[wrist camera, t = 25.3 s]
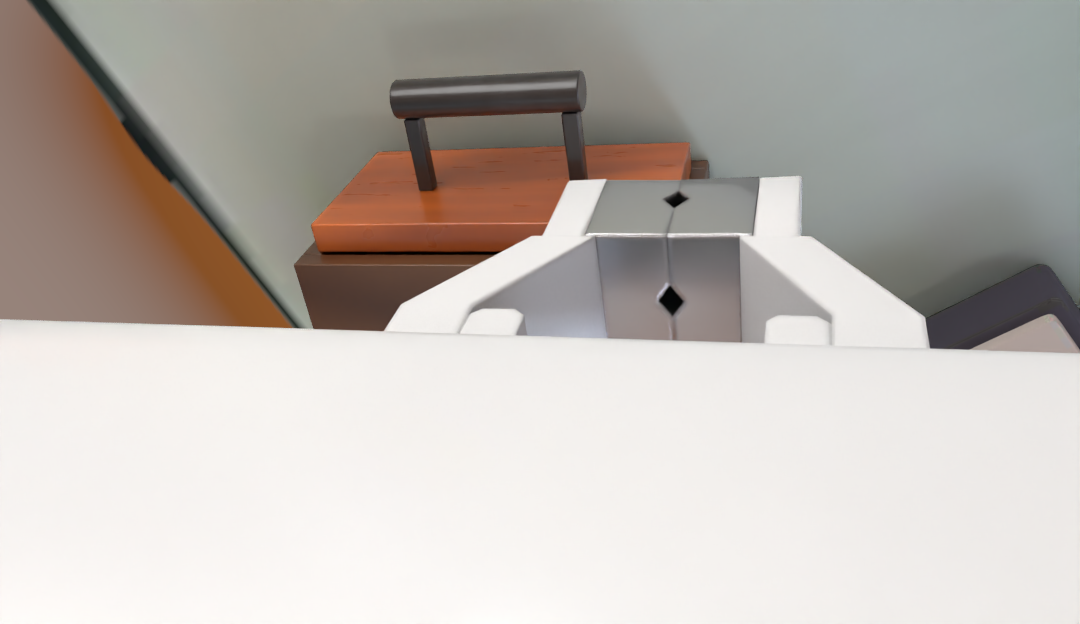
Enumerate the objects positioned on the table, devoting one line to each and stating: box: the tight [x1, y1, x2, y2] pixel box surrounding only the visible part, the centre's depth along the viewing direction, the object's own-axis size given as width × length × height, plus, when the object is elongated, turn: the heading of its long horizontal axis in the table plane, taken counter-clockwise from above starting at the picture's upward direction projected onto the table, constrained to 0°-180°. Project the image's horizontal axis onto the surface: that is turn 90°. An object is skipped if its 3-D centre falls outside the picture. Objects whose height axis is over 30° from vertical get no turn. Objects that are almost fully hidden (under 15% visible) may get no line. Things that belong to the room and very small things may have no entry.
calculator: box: [925, 265, 1080, 353], centre depth 40 cm, size 11×4×15 cm
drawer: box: [311, 70, 691, 255], centre depth 38 cm, size 19×13×7 cm
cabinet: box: [294, 161, 709, 331], centre depth 41 cm, size 16×15×9 cm
